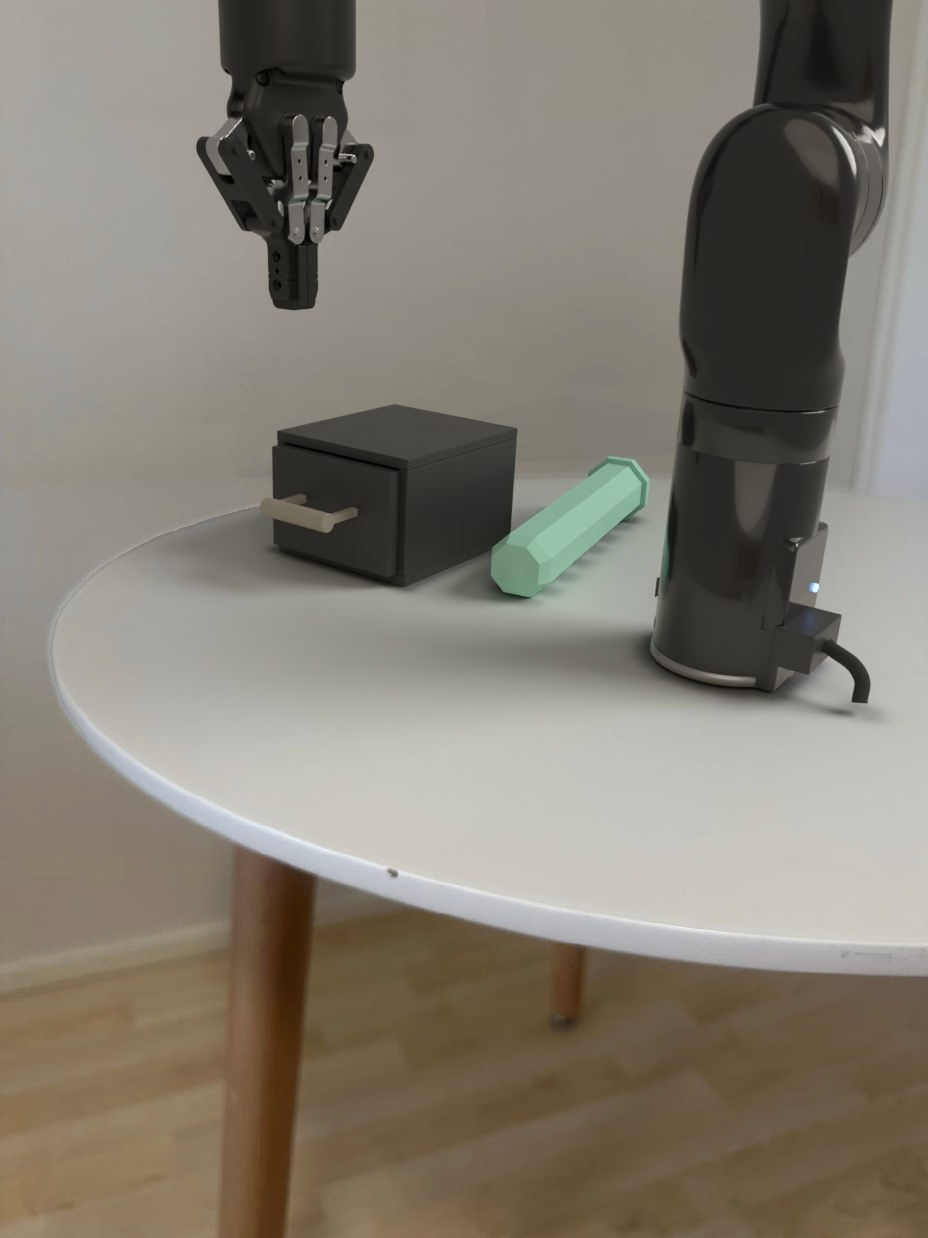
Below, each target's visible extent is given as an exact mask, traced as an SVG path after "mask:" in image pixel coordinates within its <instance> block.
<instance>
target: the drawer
mask: <svg viewBox="0 0 928 1238" xmlns="http://www.w3.org/2000/svg"><path fill="white" fill-rule="evenodd" d="M271 459H272V460H271V463H272V464H271V465H272V468H271V469H272V470H271V471H272V476H271V477H272V497H270V496H269V497H268V496H267V497H264V498H263V499H262V500H261V502H260V504H259V511H260V514H261V515H262V516H263V517H267V518H271V519H272V529H273V531H272V533H273V535H272V537H273V538H272V539H273V541H272V542H273V545H276V546H278V547H279V546H283V547H286V548H289V549H293V550H296V551H300V552H303V553H306V554H310V555H313V556H316V557H320V558H323V559H327V560H330V561H333V562H337V563H340V564H344V565H347V566H350V567H354V568H357V569H361V570H364V571H367V572H371V573H374V574H377V575H381V576H384V577H390V576H393V575H395V574H397V573H398V541H399V505H400V471H399V470H400V469H398V468H396V470H393V469H389V468H385V467H380V466H376V465H372V464H373V463H372V462H367V461H363V460H359V459H355V458H350V457H346V456H342V455H337V454H333V453H329V452H324V451H320V450H316V449H311V448H307V447H303V446H301V448H299V447H294V446H290V445H286V444H280V445H277V444H275V445H272V447H271ZM375 464H376V463H375ZM384 466H385V465H384ZM388 467H389V466H388Z"/></svg>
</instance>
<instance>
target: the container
mask: <svg viewBox="0 0 928 1238" xmlns="http://www.w3.org/2000/svg"><path fill="white" fill-rule="evenodd" d="M650 479H651V478H649V476H648V475H647V474H646V473H645V472H644V470H643V469H642V467H641V466H640V465H639V463H638V462H637V460H636V459H633V458H627V457H621V456H620V457H619V456H613V455H609V456H607V457H606V458H605V459H604V460H602V461H601V462H600V463H599V464H597V465H596V466H595V467H594V468H593V469H591V470H590V471H588V472H587V478H585V479H584V480H582V481H581V482H580V483H578V484H577V485H575V486H574V487H572V488H571V489H570V490H568V491H567V492H566V493H564V494H563V495H561V496H560V497H558V498H557V499H556V500H554V501H553V502H551V503H550V504H548V505H547V506H546V507H544V508H543V509H542V510H540V511H539V512H538V513H536V514H535V515H533V516H532V517H530V518H529V519H528V520H527V521H525V522H524V523H522V524H521V525H519V526H518V527H517V528H515V529H514V530H511V533H510V534H508V535H507V536H506V537H505V538H503V539H502V540H501V541H500V542H498V543H497V544H496V545H495V546H493V547H492V549H491V558H490V559H491V561H490V577H491V578H492V579H493V581H494V582H495V583H496V584H497V585H498V587H499V588H500V589H501V591H502V592H503V593H507V594H511V595H516V596H522V597H527V598H532V597H534V596H535V595H536V594H537V593H538V592H540V591H542V590H543V589H544V588H545V587H547V586H548V585H550V584H551V583H552V582H553V581H554V580H555V579H557V577H559V576H560V575H561V574H562V573H563V572H564V571H566V570H567V569H568V568H569V567H570V566H571V565H573V563H575V562H576V561H577V560H578V559H579V558H580V557H582V556H583V555H584V554H585V553H586V552H587V551H589V550H590V549H591V548H592V547H593V546H594V545H595V544H597V542H599V541H600V540H601V539H602V538H604V537H605V536H606V535H607V534H608V533H609V532H610V531H611V530H612V529H613V528H615V527H616V526H617V525H618V524H619V523H621V521H624V522H626V521H628V520H629V519H630V518H631V517H633V516H635V514H637V513H638V512H640V511H641V510H642V509H643V508H645V507H646V506H647V505H648V503H649V501H648V500H649V491H650V483H651V480H650Z"/></svg>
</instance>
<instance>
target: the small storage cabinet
mask: <svg viewBox="0 0 928 1238" xmlns="http://www.w3.org/2000/svg"><path fill="white" fill-rule="evenodd" d="M518 430H519V429H518V427H514V426H508V425H503V424H498V423H493V422H489V421H484V420H478V419H472V418H467V417H463V416H457V415H453V414H448V413H444V412H443V413H442V412H437V411H432V410H427V409H423V408H416V407H412V406H407V405H403V404H397V403H393V404H388V405H384V406H380V407H376V408H370V409H366V410H362V411H357V412H354V413H348V414H344V415H340V416H335V417H331V418H327V419H322V420H318V421H314V422H313V421H312V422H310V423H309V422H308V423H304V424H300V425H296V426H292V427H288V428H282V429H279V430H277V431H276V440H277V443H276V445H280V444H286V445H290V446H294V447H299V448H301V446H303V447H307V448H311V449H316V450H320V451H324V452H329V453H333V454H337V455H342V456H346V457H350V458H355V459H359V460H363V461H367V462H372V463H376V464H380V465H385V466H389V467H393V468H398V469H400V470H399V471H400V505H399V541H398V573H397V574H395V575H393V576H390V577H384V576H381V575H377V574H374V573H371V572H367V571H364V570H361V569H357V568H354V567H350V566H347V565H344V564H340V563H337V562H333V561H330V560H327V559H323V558H320V557H316V556H313V555H310V554H306V553H303V552H300V551H296V550H293V549H289V548H286V547H283V546H279V545H278V550H279V551H283V552H285V553H289V554H291V555H296V556H299V557H302V558H305V559H309V560H313V561H316V562H319V563H322V564H327V565H330V566H333V567H336V568H340V569H344V570H346V571H349V572H353V573H357V574H360V575H363V576H366V577H369V578H373V579H377V580H380V581H384V582H387V583H389V584H394V585H397V586H400V587H405V588H406V587H407V586H409V585H411V584H414V583H416V582H419V581H421V580H423V579H426V578H429V577H430V576H432V575H434V574H435V575H436V574H437V573H439V572H441V571H444V570H446V569H449V568H451V567H454V566H456V565H458V564H460V563H463V562H465V561H467V560H470V559H472V558H474V557H477V556H479V555H481V554H484V553H486V552H489V551H492V547H493V546H495V545H496V544H497V543H498V542H500V541H501V540H502V539H503V538H505V537H506V536H507V535H508V534H510V533H511V532H512V521H513V519H512V518H513V504H514V503H513V502H514V489H515V474H516V473H515V472H516V471H515V470H516V457H517V443H518Z"/></svg>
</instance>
